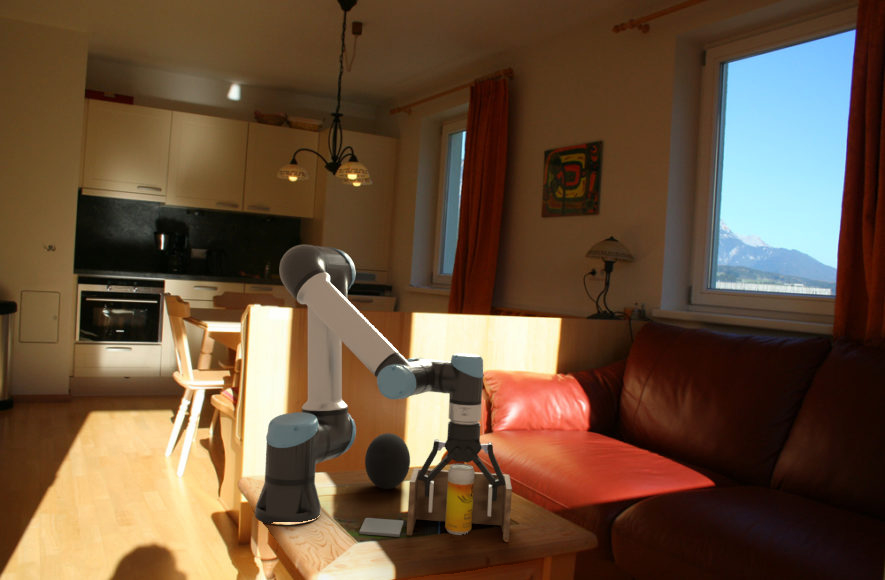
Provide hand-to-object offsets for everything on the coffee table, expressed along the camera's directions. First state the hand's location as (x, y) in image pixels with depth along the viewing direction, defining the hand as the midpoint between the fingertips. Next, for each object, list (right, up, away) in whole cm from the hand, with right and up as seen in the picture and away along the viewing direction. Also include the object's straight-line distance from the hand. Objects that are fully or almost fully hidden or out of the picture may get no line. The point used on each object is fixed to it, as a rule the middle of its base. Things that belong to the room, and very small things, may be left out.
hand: (459, 512), depth 160 cm
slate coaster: (-18, -3, -1) cm, 18 cm away
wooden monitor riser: (0, -4, +1) cm, 4 cm away
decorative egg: (-20, -3, +30) cm, 36 cm away
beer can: (0, -5, 0) cm, 5 cm away
